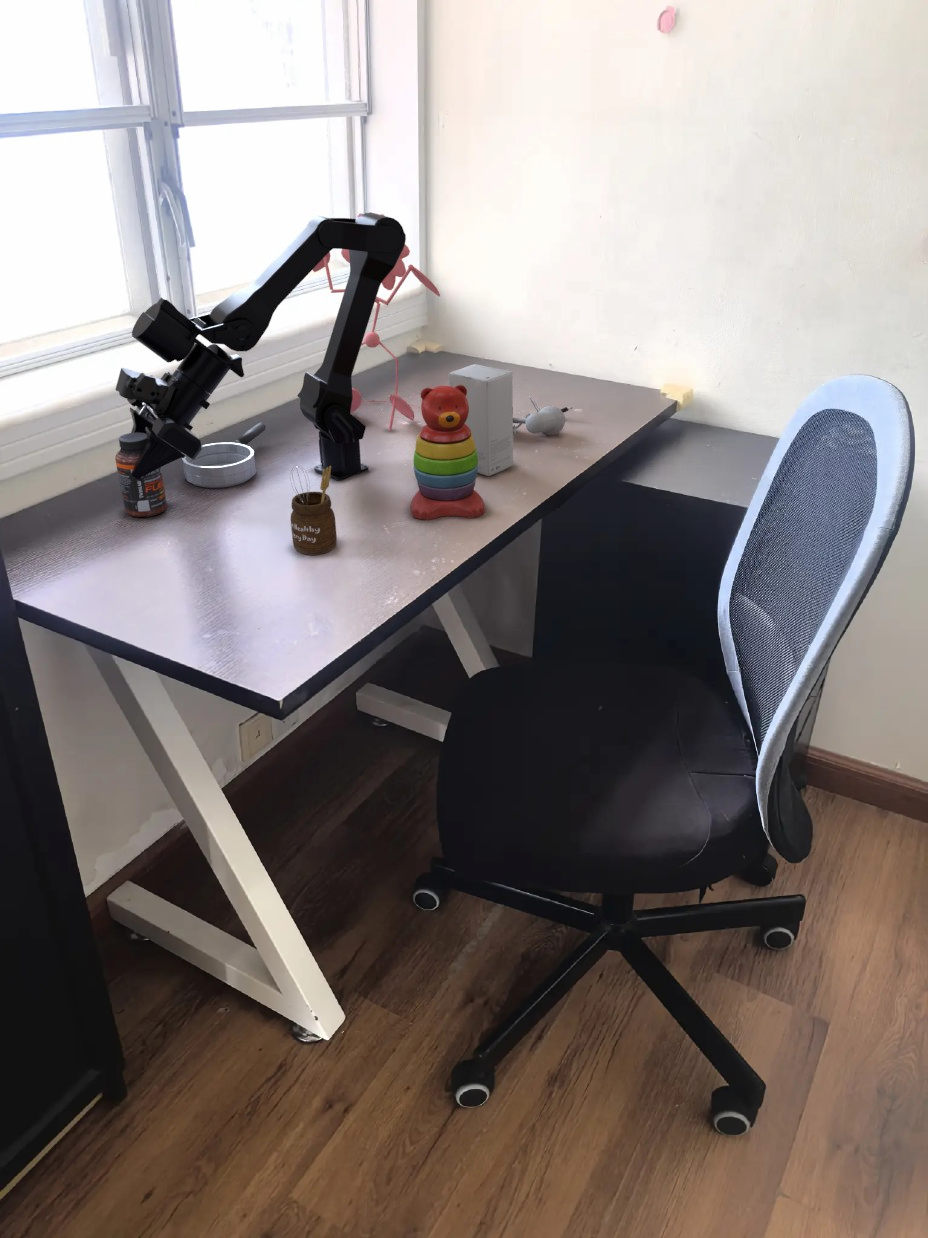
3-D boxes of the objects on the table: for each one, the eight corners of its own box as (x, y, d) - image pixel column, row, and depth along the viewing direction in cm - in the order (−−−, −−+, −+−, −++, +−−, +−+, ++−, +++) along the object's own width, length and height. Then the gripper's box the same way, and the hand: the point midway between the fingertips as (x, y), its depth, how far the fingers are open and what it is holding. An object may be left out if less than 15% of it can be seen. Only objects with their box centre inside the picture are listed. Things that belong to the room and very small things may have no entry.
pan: (270, 475, 147) (267, 454, 145) (210, 494, 140) (207, 473, 139) (231, 457, 154) (228, 437, 152) (172, 475, 147) (168, 455, 145)
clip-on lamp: (523, 428, 175) (482, 436, 159) (524, 394, 173) (482, 398, 158) (582, 431, 170) (545, 440, 154) (583, 396, 168) (546, 401, 152)
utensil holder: (311, 533, 129) (303, 451, 123) (348, 543, 126) (341, 460, 120) (284, 549, 124) (274, 465, 118) (321, 560, 122) (313, 475, 115)
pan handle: (238, 453, 150) (236, 443, 149) (229, 452, 150) (227, 443, 150) (267, 430, 160) (266, 421, 159) (259, 429, 160) (258, 420, 159)
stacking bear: (411, 521, 132) (407, 399, 123) (408, 493, 141) (404, 377, 132) (486, 517, 133) (488, 396, 124) (478, 490, 142) (479, 375, 133)
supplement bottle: (155, 520, 133) (141, 445, 127) (118, 517, 134) (102, 442, 128) (175, 503, 138) (162, 430, 132) (138, 500, 139) (124, 428, 133)
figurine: (430, 439, 161) (425, 223, 143) (304, 419, 170) (285, 214, 153) (466, 413, 173) (465, 211, 155) (347, 396, 182) (334, 203, 165)
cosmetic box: (514, 467, 150) (516, 371, 142) (486, 478, 146) (487, 380, 138) (475, 454, 155) (476, 361, 147) (448, 465, 151) (447, 370, 143)
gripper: (130, 332, 132) (66, 419, 133) (163, 362, 118) (91, 460, 119) (192, 378, 140) (132, 460, 141) (230, 412, 126) (163, 503, 127)
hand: (128, 469), depth 132 cm, fingers closed on supplement bottle, 6 cm apart
